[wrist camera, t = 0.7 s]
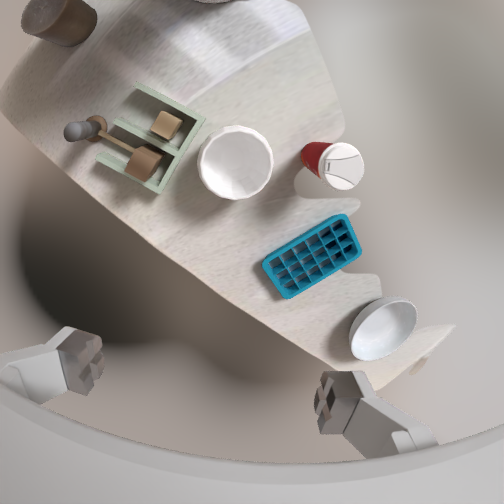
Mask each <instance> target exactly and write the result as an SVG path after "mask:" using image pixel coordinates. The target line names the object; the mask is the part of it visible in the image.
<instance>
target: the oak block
mask: <svg viewBox="0 0 504 504" xmlns="http://www.w3.org/2000/svg"><path fill="white" fill-rule="evenodd" d="M183 122H184V120H182V119H180V118H178V117H176V116H174V115H173V114H171V113H169V112H166V111H161V112H160V114H159V115H158V117H157V119H156V120H155V122H154V124H153V125H152V127H151V129H150V130H152V131H153V132H155V133H157V134H159V135H161V136H163V137H164V138H166V139H168V140H169V139H171V138H173V137H174V136H175V135H176V133H177V131H178V130H179V128H180V126H181V125H182V123H183Z"/></svg>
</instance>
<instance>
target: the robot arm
mask: <svg viewBox="0 0 504 504" xmlns="http://www.w3.org/2000/svg"><path fill="white" fill-rule="evenodd" d="M195 1H199V2H204V3H221V2H226V1H230V0H195ZM101 347H102V341H101V338H100V337H99V336H97V335H94V334H91V333H87V332H84V331H81V330H77V329H75V328H71V327H64V328H63V329H62V330H60V331H59V332H58V333H57V334H56V335H55V336H54V337H53V338H52V339H50V340H49V341H48V342H47V343H46V344H45V345H43V344H39V345H35V346H31V347H27V348H23V349H19V350H15V351H11V352H7V353H3V354H0V504H504V424H502V425H499V426H497V427H494V428H492V429H489V430H487V431H484V432H481V433H478V434H476V435H472V436H469V437H466V438H463V439H460V440H457V441H453V442H450V443H446V444H443V445H439V444H438V443H437V441H436V439H435V437H434V435H433V434H432V432H431V430H430V429H429V427H428V426H427V425H426V424H424V423H422V422H421V421H419V420H417V419H416V418H414V417H412V416H411V415H409V414H407V413H405V412H404V411H402V410H401V409H399V408H398V407H396V406H394V405H393V404H391V403H390V402H388V401H386V400H385V399H383V398H381V397H377V395H376V393H375V391H374V389H373V387H372V385H371V383H370V382H369V380H368V378H367V376H366V374H365V372H363V371H324V372H323V374H322V376H321V379H320V381H321V384H322V385H321V386H320V387H319V388H318V389H317V391H316V394H315V399H314V409H315V413H316V414H317V415H319V418H318V421H317V422H318V427H319V430H320V434H343V436H344V437H345V438H346V439H347V440H348V441H349V442H350V443H351V444H352V445H353V446H354V447H355V448H356V449H357V450H358V451H359V452H360V453H361V454H362V455H363V456H364V457H365V458H366V459H363V460H354V461H342V462H327V463H267V462H251V461H239V460H231V459H222V458H215V457H207V456H201V455H195V454H189V453H184V452H179V451H174V450H169V449H165V448H160V447H156V446H152V445H148V444H144V443H141V442H136V441H133V440H130V439H126V438H123V437H120V436H117V435H114V434H110V433H107V432H104V431H102V430H98V429H96V428H93V427H90V426H87V425H85V424H82V423H80V422H77V421H75V420H72V419H70V418H68V417H65V416H63V415H60V414H58V413H56V412H54V411H52V410H50V409H47V408H45V407H43V406H41V405H40V404H43V403H45V402H46V401H48V400H50V399H52V398H54V397H56V396H58V395H60V394H62V393H64V392H66V391H68V390H71V391H73V392H76V393H80V394H82V395H86V396H87V395H88V393H89V392H90V391H91V389H92V388H93V386H94V382H93V381H94V380H96V379H99V378H100V376H101V375H102V373H103V369H104V356H103V354H102V353H101V351H100V349H101Z"/></svg>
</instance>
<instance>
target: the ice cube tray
mask: <svg viewBox="0 0 504 504" xmlns="http://www.w3.org/2000/svg"><path fill="white" fill-rule="evenodd" d="M339 219H340V221H341V222H340V223H338V224H337V225H336V226H334V227H333V228H332V227H331V225H330V224H332V223H334V222H335V221H337V220H339ZM327 226H328V227H329V229H330V230H328V231H327V232H326V233H325V234H323V235H322V236H321V237H320V236H319V234H318V232H319V231H321V230H322V229H324V228H326V227H327ZM314 234H316V235H317V237H318V238H319V241H317V242H316V243H314V244H313V245H311V246H308V245H307V243H306V241H305V240H306V239H307V238H309V237H311V236H312V235H314ZM303 241H304V242H305V244H306V246H307V248H306V249H304V250H303V251H301V252H299V253H298V254H296V253H295V252H294V250H293V247H294V246H296V245H298V244H299V243H301V242H303ZM321 247H323V248H324V250H325V252H323V253H321V254H320V255H318V256H316V257H314V255H313V254H312V253H313V252H315V251H316V250H318V249H320V248H321ZM326 248H328V250H327V249H326ZM289 249H292V250H293V252H294V254H295V255H294V256H293V257H291V258H289V259H288V260H286V261H283V259H282V258H281V256H280V255H281V254H283V253H284V252H286V251H288V250H289ZM310 254H311V255H312V257H313V259H311V260H310V261H308V262H307V263H305V264H303V265H302V264H301V262H300V260H301V259H303V258H305V257H306V256H308V255H310ZM334 254H335V256H336V259H335V260H334V261H332V259H331V257H330V256H332V255H334ZM361 254H362V249H361V247H360V244H359V242H358V240H357V237H356V235H355V233H354V230H353V228H352V226H351V224H350V221H349V219H348V217H347V215H345V214H338V215H334V216H331V217H330V218H328V219H326V220H325V221H323V222H321V223H320V224H318V225H317V226H315V227H313V228H312V229H310V230H308V231H307V232H305V233H303V234H302V235H300V236H298V237H297V238H295V239H294V240H292V241H290V242H289V243H287V244H285V245H284V246H282V247H280V248H279V249H277V250H275V251H274V252H272V253H270V254H269V255H267V257H266V259H264V260H263V262H262V268H263V269H264V270H265V272H266V273H267V275H268V276H269V278H270V279H271V280H272V282H273V283H274V285H275V286H276V288H277V289H278V291H279V292H280V293H281V295H282V296H283V298H285V299H291V298H292V297H294V296H296V295H298V294H299V293H301V292H303V291H304V290H306V289H308V288H310V287H311V286H313V285H315V284H316V283H318V282H320V281H321V280H323V279H325V278H326V277H328V276H329V275H331V274H333V273H334V272H336V271H338V270H339V269H341V268H342V267H344V266H346V265H347V264H349V263H350V262H352V261H354V260H355V259H357V258H358V257H359V256H360V255H361ZM278 256H279V258H280V259H281V261H282V263H281V264H279V265H278V266H276V267H274V268H273V269H272V268H271V267H270V265H269V264H268V263H269V262H270V261H271V260H273V259H274V258H276V257H278ZM327 258H329V260H330V261H331V262H330V263H329V264H327V265H326V266H324V267H322V268H320V266H319V263H321V262H322V261H324V260H326V259H327ZM298 261H299V262H300V264H301V265H302V266H300V267H298V268H297V269H295V270H293V271H292V272H290V270H289V269H288V267H290V266H291V265H293V264H295V263H296V262H298ZM316 265H317V266H318V267H319V270H317V271H316V272H314V273H312V274H311V275H308V274H307V272H306V271H307V270H309V269H311V268H312V267H314V266H316ZM285 269H287V270H288V272H289V273H288V274H286V275H285V276H283V277H281V278H280V279H279V278H278V277H277V276H276V274H278V273H280V272H281V271H283V270H285ZM304 272H306V274H307V275H308V276H307V277H306V278H304V279H302V280H301V281H299V282H296V280H295V278H296V277H297V276H299V275H301V274H302V273H304ZM292 279H293V280H294V281H295V283H296V284H294V285H292V286H291V287H288V288H286V287H284V286H283V285H284V284H286V283H287V282H289V281H291V280H292Z"/></svg>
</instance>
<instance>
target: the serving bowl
mask: <svg viewBox="0 0 504 504" xmlns="http://www.w3.org/2000/svg"><path fill="white" fill-rule="evenodd" d="M417 319H418V313H417V309H416V307H415V306H414V304H412V303H411V302H410V301H409V300H407V299H405V298H402V297H399V296H387V297H383V298H380V299H378V300H376V301H374V302H372V303H371V304H369V305H368V306H366V307H365V308H364V309H363V310H362V311H361V312H360V313H359V314H358V316H357V317H356V319H355V320H354V322H353V324H352V326H351V329H350V333H349V345H350V349H351V352H352V354H353V355H354V357H356V358H357V359H359V360H362V361H373V360H378V359H381V358H383V357H386V356H388V355H390V354H391V353H393V352H394V351H396V350H397V349H398V348H400V347H401V346H402V345H403V344H404V343H405V342H406V341H407V340H408V338H409V337H410V336H411V334H412V333H413V331H414V329H415V326H416V324H417Z"/></svg>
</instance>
